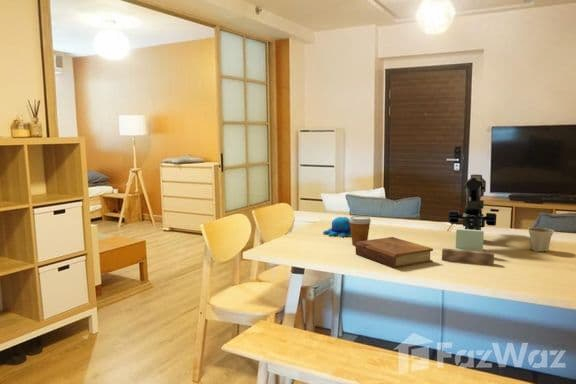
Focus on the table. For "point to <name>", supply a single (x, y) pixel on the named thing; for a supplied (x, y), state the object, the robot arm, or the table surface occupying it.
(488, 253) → the board
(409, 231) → the table surface
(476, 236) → the bookend
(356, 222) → the disposable coffee cup
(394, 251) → the diary
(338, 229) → the plush toy
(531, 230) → the flower pot
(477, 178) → the robot arm
